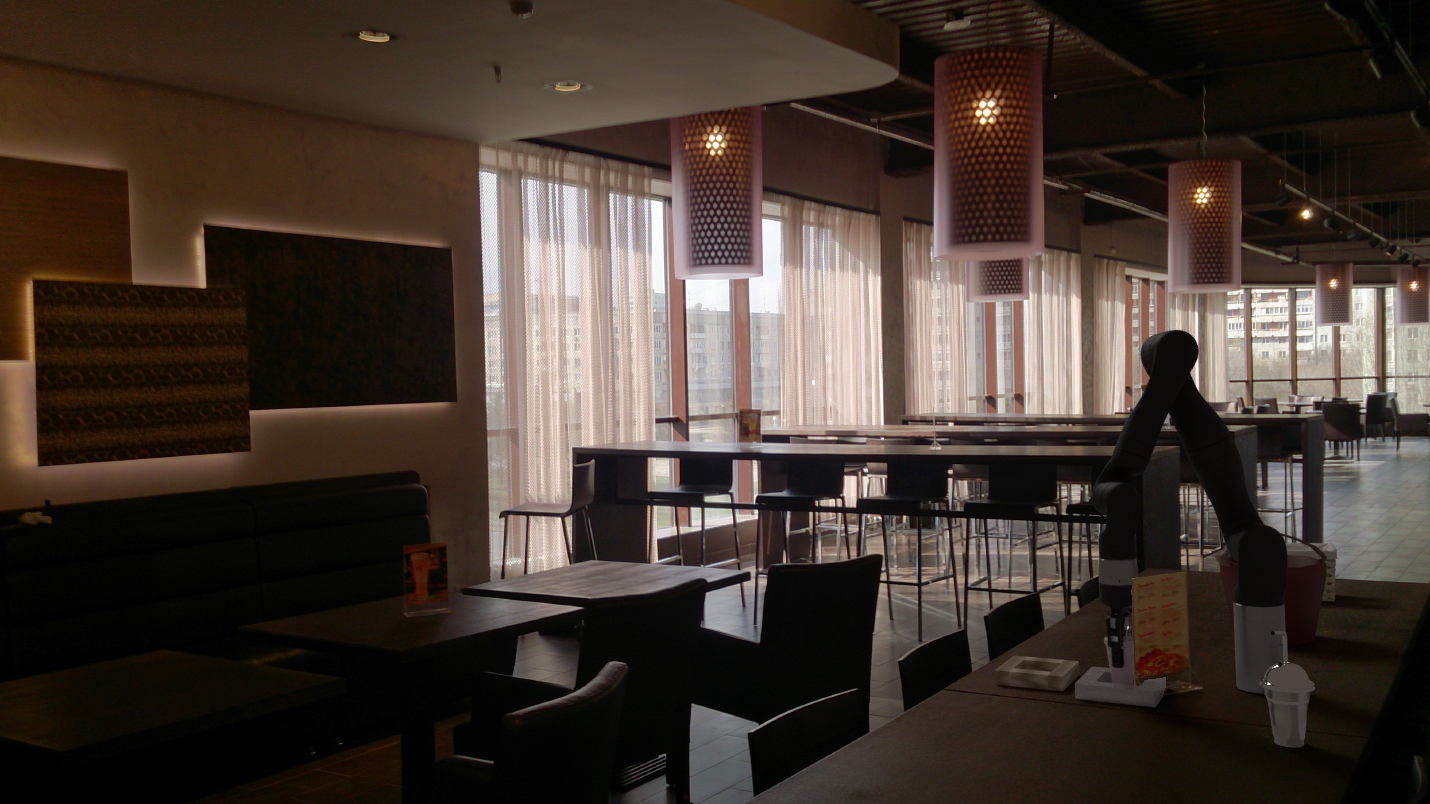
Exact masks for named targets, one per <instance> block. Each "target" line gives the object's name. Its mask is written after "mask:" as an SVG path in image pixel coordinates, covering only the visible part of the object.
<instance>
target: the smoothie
mask: <svg viewBox="0 0 1430 804" xmlns="http://www.w3.org/2000/svg"><path fill="white" fill-rule="evenodd" d="M1132 637H1133V636H1132ZM1132 637H1131V636H1127V638H1125V639H1124V667H1123V668H1115V667H1113V666H1112V651H1111V649H1112V648H1110V647H1108V638H1107V636H1105V637H1104V638H1103V643H1104V644H1105V647H1106V654H1107V659H1108V665H1109V668H1110V672H1111V678H1112V683H1116V684H1127V685H1133V674H1134V670H1135V663H1134V643H1133V642H1134V641H1133V638H1132ZM1114 641H1118V638H1116V637H1115V638H1114Z"/></svg>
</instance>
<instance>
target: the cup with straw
mask: <svg viewBox="0 0 1430 804" xmlns="http://www.w3.org/2000/svg"><path fill="white" fill-rule="evenodd" d="M1271 635H1282V638H1283V662H1277V663H1275V664H1273V665H1271V666H1270V667H1269V668H1268V669H1267V671H1266V673H1265V675H1264V677H1262V678H1261V679H1260V683H1259V685H1260V686H1261V687H1263V688H1264V689H1265V694H1264V696H1265V698H1266V701H1267V704H1268V710H1269V711H1268V712H1269V717H1270V724H1271V730H1272V735H1273V739H1274V740H1273V742H1274V744H1276V745H1278V746H1281V747H1286V748H1302V747H1304V746H1305V743H1304V741H1305V738H1306V730H1307V729H1306V728H1307V717H1308V708H1309V706H1308V705H1309V703H1310V698H1311V692H1314V691H1315V690H1316V686H1315V683H1314V682H1313V681H1312V680H1310V677H1309V676H1308V673H1307V672H1306V670H1305V669H1304V668H1303V667H1302V666H1300V665H1299V664H1297V663H1294V662H1291V661H1289V655H1288V653H1289V652H1288V645H1287V635H1286V632H1285V631H1272V632H1271Z"/></svg>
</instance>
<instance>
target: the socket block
mask: <svg viewBox="0 0 1430 804" xmlns="http://www.w3.org/2000/svg"><path fill="white" fill-rule="evenodd" d="M994 676H995V677H994V678H995V679H994V680H995V685H997V686H1007V687H1009V686H1010V687H1018V688H1026V689H1027V688H1028V689H1037V690H1047V691H1056V692H1064V691H1065V690H1066V689H1068V687H1069V686H1070V685H1072V683H1074V681H1075V680H1076V679H1077V678H1078V677H1079V676H1080V661H1078V660H1068V659H1067V660H1066V659H1059V658H1058V659H1057V658H1048V657H1047V658H1045V657H1034V656H1033V657H1032V656H1026V655H1025V656H1023V655H1012V657H1010V658H1009V659H1008V660H1006V661H1005V662H1004V663H1002V664H1001V665H1000V666H999V667H997V668H996V669H994Z"/></svg>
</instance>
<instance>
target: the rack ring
mask: <svg viewBox="0 0 1430 804" xmlns="http://www.w3.org/2000/svg"><path fill="white" fill-rule="evenodd" d="M1133 680H1134V674H1133ZM1165 688H1166V677H1163V678H1156V679H1148V680H1144V682H1143V683H1142V684H1141V685H1140V686H1137V685H1127V684H1116V683H1112V678H1111V672H1110V667H1104V666H1103V667H1102V666H1101V667H1100V666H1091V667H1090V668H1089V669H1088V670H1087V671H1086V672H1085V673H1084V674H1083V675H1081V677H1080V678H1079V679H1078V680H1077V681H1076V682H1075V683H1074V689H1075V690H1074V696H1075V698H1074V699H1075V700H1083V701H1092V702H1101V703H1109V704H1110V703H1111V704H1119V705H1120V704H1121V705H1131V706H1140V707H1141V706H1142V707H1149V708H1156V707H1157V706H1158V704H1159V703H1160V701H1161V700H1162V698H1163V697H1164V696H1163V694H1164V691H1165ZM1164 695H1165V694H1164Z"/></svg>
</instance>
